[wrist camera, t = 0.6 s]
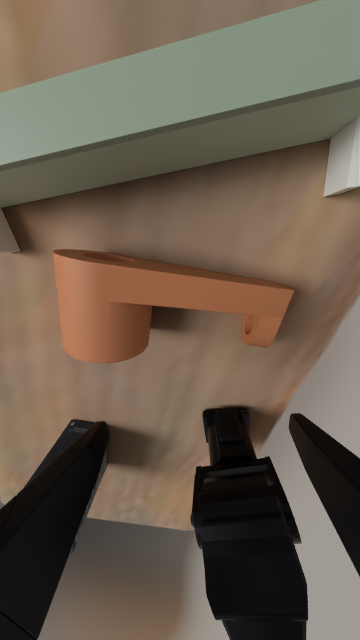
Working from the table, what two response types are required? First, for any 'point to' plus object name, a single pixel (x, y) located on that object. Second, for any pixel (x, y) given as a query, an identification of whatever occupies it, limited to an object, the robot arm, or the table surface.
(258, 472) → the robot arm
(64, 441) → the small box
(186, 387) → the table surface
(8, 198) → the chute mount
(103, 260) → the crank
